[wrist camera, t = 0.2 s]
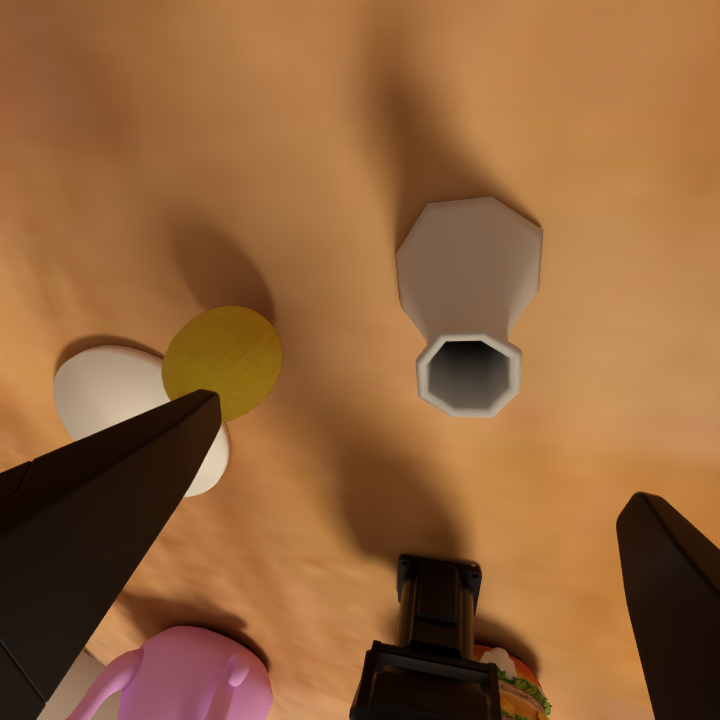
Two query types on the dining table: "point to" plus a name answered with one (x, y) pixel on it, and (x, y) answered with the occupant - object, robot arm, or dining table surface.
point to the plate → (123, 400)
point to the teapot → (183, 680)
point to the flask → (469, 300)
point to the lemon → (224, 359)
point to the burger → (515, 686)
